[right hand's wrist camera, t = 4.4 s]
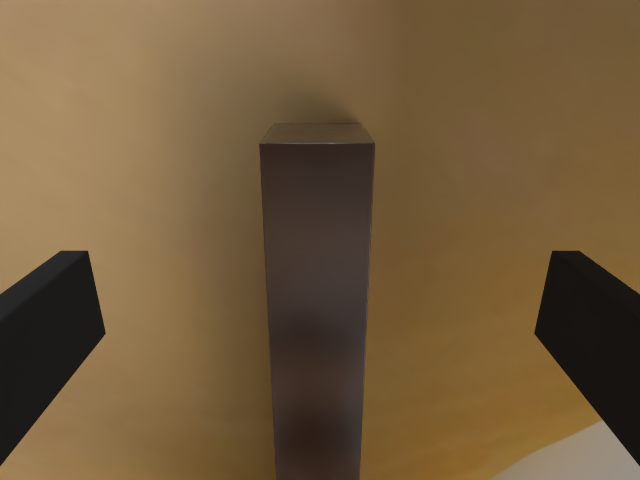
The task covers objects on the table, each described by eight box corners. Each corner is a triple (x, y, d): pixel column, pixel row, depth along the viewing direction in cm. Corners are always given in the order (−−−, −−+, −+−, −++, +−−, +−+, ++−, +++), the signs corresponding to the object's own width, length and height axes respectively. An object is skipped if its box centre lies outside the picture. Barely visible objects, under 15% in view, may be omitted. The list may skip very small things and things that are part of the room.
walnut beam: (347, 530, 38) (353, 619, 32) (289, 530, 38) (283, 620, 32) (361, 123, 25) (375, 142, 19) (273, 123, 25) (259, 142, 19)
